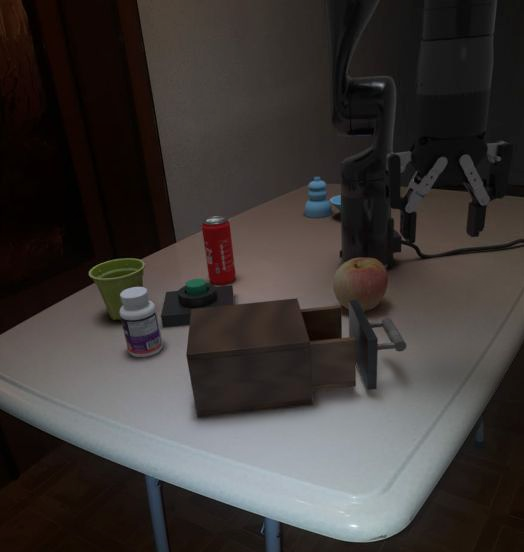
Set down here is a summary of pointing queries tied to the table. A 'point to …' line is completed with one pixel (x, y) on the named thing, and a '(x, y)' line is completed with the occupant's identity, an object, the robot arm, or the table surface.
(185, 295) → the control block
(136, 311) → the pill bottle
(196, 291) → the button
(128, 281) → the plant pot
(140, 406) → the table surface
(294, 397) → the cabinet
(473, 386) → the table surface
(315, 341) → the drawer
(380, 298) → the apple
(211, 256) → the beverage can
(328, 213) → the blue tiered piece
